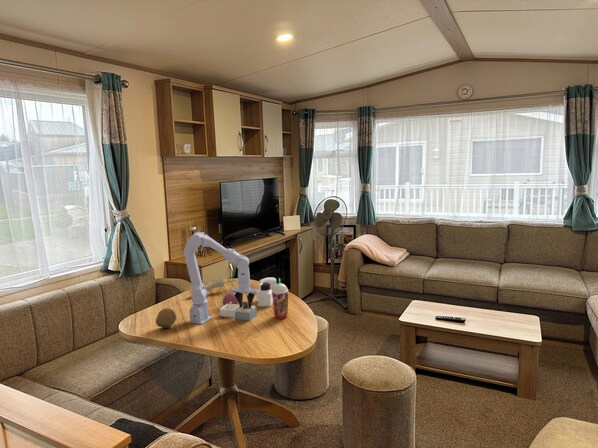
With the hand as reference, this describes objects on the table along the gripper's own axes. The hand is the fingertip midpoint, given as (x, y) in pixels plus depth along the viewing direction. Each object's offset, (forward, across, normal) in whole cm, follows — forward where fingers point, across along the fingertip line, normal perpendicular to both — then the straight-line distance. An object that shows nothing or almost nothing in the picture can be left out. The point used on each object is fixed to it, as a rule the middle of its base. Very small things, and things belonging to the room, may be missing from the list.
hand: (245, 307), depth 205 cm
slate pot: (+5, 0, 0) cm, 5 cm away
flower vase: (+6, +33, -33) cm, 47 cm away
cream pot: (+5, +10, -2) cm, 12 cm away
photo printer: (+6, 0, -29) cm, 30 cm away
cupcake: (+3, +18, -14) cm, 23 cm away
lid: (+1, 0, 0) cm, 1 cm away
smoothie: (+6, -17, -5) cm, 19 cm away
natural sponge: (+6, +31, +22) cm, 38 cm away
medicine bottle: (+6, -2, -20) cm, 21 cm away
